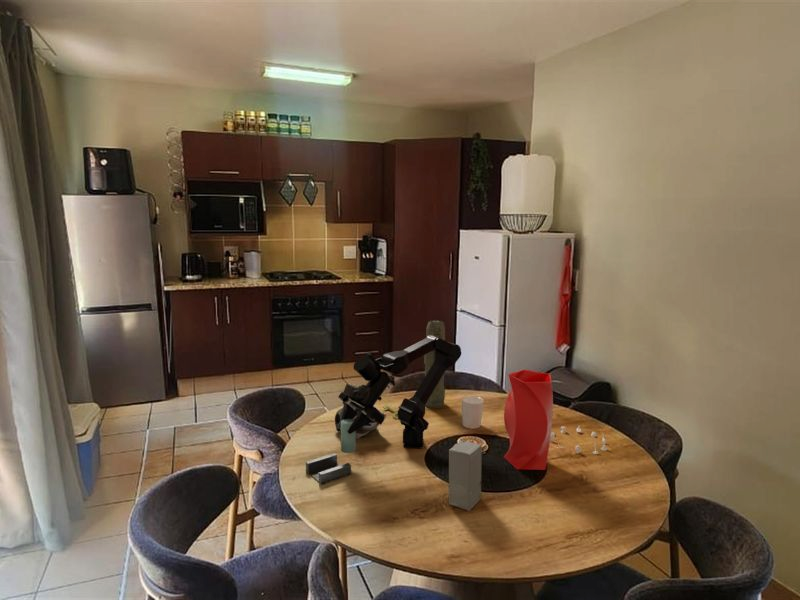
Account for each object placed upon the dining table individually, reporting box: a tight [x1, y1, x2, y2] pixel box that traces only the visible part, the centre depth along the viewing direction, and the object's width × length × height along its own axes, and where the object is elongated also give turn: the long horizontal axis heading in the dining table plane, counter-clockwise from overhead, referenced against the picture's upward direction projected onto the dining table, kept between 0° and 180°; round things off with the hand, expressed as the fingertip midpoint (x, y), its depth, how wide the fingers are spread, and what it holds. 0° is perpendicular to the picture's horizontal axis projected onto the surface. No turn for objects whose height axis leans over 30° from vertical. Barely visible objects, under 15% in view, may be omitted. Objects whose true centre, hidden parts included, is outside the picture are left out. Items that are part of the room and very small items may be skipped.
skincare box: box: [448, 439, 483, 512], centre depth 139 cm, size 8×7×16 cm
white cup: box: [461, 395, 484, 430], centre depth 190 cm, size 8×8×10 cm
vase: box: [503, 369, 554, 471], centre depth 161 cm, size 15×14×28 cm
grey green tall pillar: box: [423, 319, 446, 409], centre depth 209 cm, size 9×12×35 cm
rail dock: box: [305, 452, 352, 485], centre depth 154 cm, size 10×10×3 cm
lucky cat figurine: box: [334, 405, 387, 439], centre depth 181 cm, size 17×14×16 cm
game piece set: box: [550, 425, 609, 455], centre depth 178 cm, size 19×20×4 cm
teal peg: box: [340, 419, 357, 454], centre depth 157 cm, size 4×4×9 cm
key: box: [383, 404, 399, 420], centre depth 200 cm, size 7×12×2 cm, turn 55°
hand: (344, 430), depth 156 cm, fingers closed on teal peg, 4 cm apart
